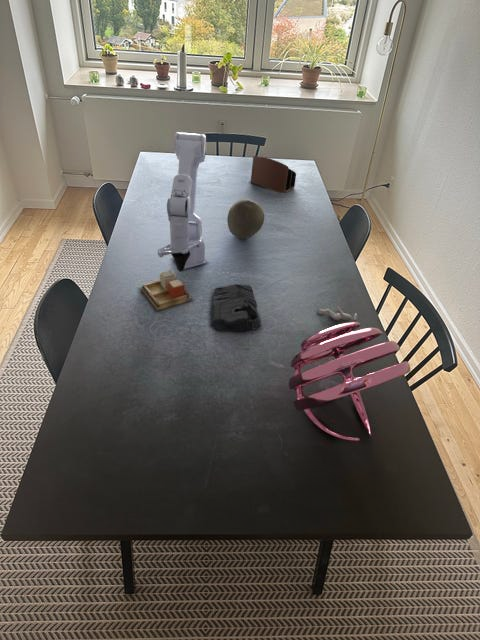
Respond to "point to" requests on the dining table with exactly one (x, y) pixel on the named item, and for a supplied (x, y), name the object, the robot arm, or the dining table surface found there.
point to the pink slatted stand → (341, 369)
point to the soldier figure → (337, 314)
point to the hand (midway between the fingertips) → (180, 270)
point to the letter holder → (272, 175)
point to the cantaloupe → (245, 218)
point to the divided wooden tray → (162, 295)
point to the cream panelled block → (167, 278)
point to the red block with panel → (175, 288)
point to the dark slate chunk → (235, 308)
